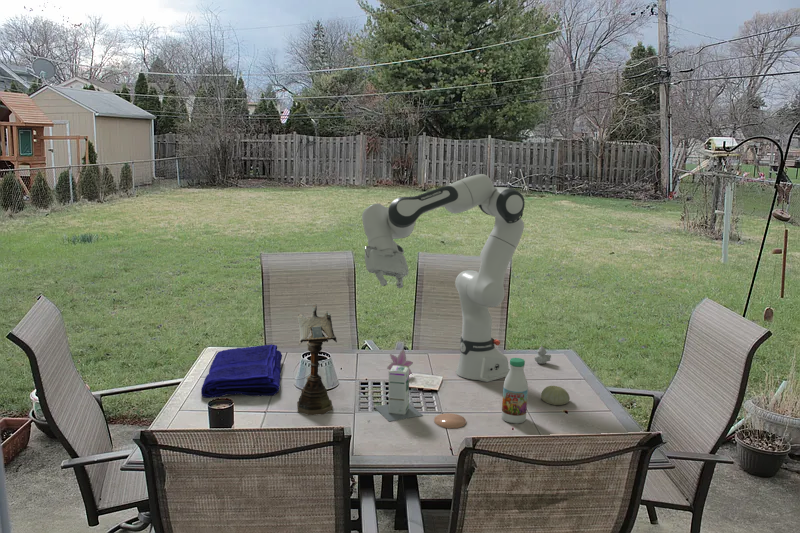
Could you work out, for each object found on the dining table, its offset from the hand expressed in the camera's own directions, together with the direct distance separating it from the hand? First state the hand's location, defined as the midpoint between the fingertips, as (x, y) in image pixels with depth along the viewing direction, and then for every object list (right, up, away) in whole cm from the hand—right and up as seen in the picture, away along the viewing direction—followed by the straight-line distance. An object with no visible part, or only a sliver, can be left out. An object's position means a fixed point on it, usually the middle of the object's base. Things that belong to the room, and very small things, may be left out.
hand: (392, 286), depth 216 cm
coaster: (+18, -42, -13) cm, 48 cm away
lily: (+2, -35, +25) cm, 43 cm away
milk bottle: (+39, -42, -10) cm, 59 cm away
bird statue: (-24, -40, -8) cm, 48 cm away
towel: (-54, -35, +18) cm, 67 cm away
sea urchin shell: (+56, -40, +5) cm, 69 cm away
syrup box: (+2, -40, -7) cm, 41 cm away
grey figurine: (+60, -33, +43) cm, 81 cm away
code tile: (+2, -40, -7) cm, 41 cm away
